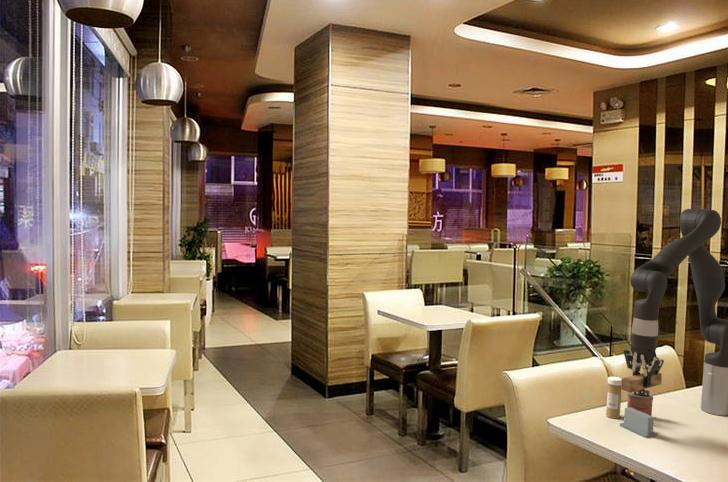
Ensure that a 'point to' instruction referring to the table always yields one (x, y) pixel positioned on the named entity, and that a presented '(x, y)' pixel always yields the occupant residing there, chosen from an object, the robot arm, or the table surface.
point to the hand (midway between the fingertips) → (641, 385)
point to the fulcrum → (638, 422)
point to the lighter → (641, 401)
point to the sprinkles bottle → (614, 397)
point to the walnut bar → (639, 382)
